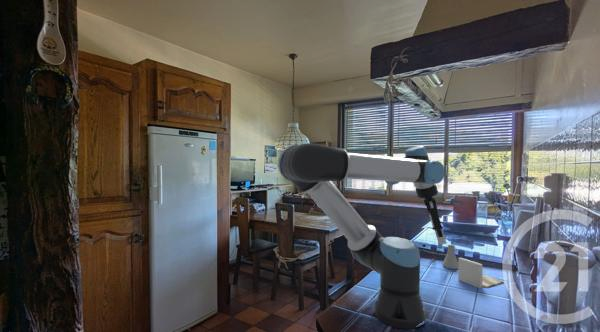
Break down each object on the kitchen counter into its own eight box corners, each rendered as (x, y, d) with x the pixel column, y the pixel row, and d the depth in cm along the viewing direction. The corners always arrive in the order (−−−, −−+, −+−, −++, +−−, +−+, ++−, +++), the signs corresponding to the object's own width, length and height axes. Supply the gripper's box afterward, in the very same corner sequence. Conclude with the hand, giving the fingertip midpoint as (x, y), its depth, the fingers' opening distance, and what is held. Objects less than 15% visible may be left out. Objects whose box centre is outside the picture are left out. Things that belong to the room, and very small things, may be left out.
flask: (463, 269, 130) (463, 247, 130) (447, 269, 131) (447, 247, 131) (454, 264, 138) (455, 243, 138) (439, 264, 138) (439, 243, 138)
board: (486, 287, 111) (486, 286, 111) (459, 277, 121) (459, 276, 121) (503, 283, 116) (503, 281, 116) (476, 273, 126) (476, 272, 126)
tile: (479, 288, 111) (479, 264, 111) (458, 279, 119) (458, 258, 119) (482, 287, 112) (482, 264, 112) (460, 279, 120) (461, 257, 120)
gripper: (441, 193, 98) (457, 249, 101) (430, 175, 121) (443, 221, 124) (418, 198, 101) (434, 253, 103) (412, 179, 124) (425, 224, 127)
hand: (439, 235), depth 114 cm, fingers open, 13 cm apart
